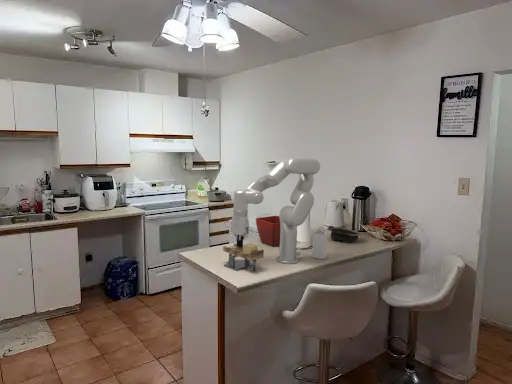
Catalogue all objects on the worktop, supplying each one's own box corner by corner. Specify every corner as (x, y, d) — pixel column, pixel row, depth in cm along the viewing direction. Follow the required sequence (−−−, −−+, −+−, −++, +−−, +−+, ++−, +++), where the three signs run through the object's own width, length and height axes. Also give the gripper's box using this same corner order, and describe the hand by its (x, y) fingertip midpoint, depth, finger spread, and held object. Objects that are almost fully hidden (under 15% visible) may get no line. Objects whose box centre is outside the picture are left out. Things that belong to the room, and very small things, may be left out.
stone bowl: (320, 239, 255) (321, 226, 254) (337, 236, 274) (338, 224, 274) (352, 246, 239) (354, 232, 239) (368, 242, 258) (369, 229, 258)
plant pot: (272, 249, 228) (273, 223, 226) (254, 242, 243) (254, 218, 241) (294, 244, 240) (295, 220, 238) (275, 238, 255) (276, 215, 253)
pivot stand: (219, 264, 195) (219, 252, 194) (238, 259, 205) (238, 247, 204) (245, 274, 181) (245, 261, 180) (264, 268, 191) (265, 256, 190)
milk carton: (312, 257, 212) (313, 226, 210) (314, 254, 218) (316, 224, 216) (324, 259, 209) (325, 227, 207) (326, 256, 216) (327, 225, 214)
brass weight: (242, 254, 187) (243, 244, 186) (249, 252, 190) (250, 243, 190) (250, 256, 183) (251, 247, 182) (257, 255, 186) (258, 245, 185)
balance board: (223, 250, 196) (223, 243, 196) (235, 248, 202) (235, 241, 202) (251, 260, 181) (251, 253, 180) (263, 257, 187) (263, 250, 187)
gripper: (226, 212, 193) (225, 245, 195) (245, 216, 183) (244, 251, 185) (236, 210, 199) (235, 242, 201) (255, 214, 188) (254, 248, 190)
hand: (239, 246), depth 193 cm, fingers closed
